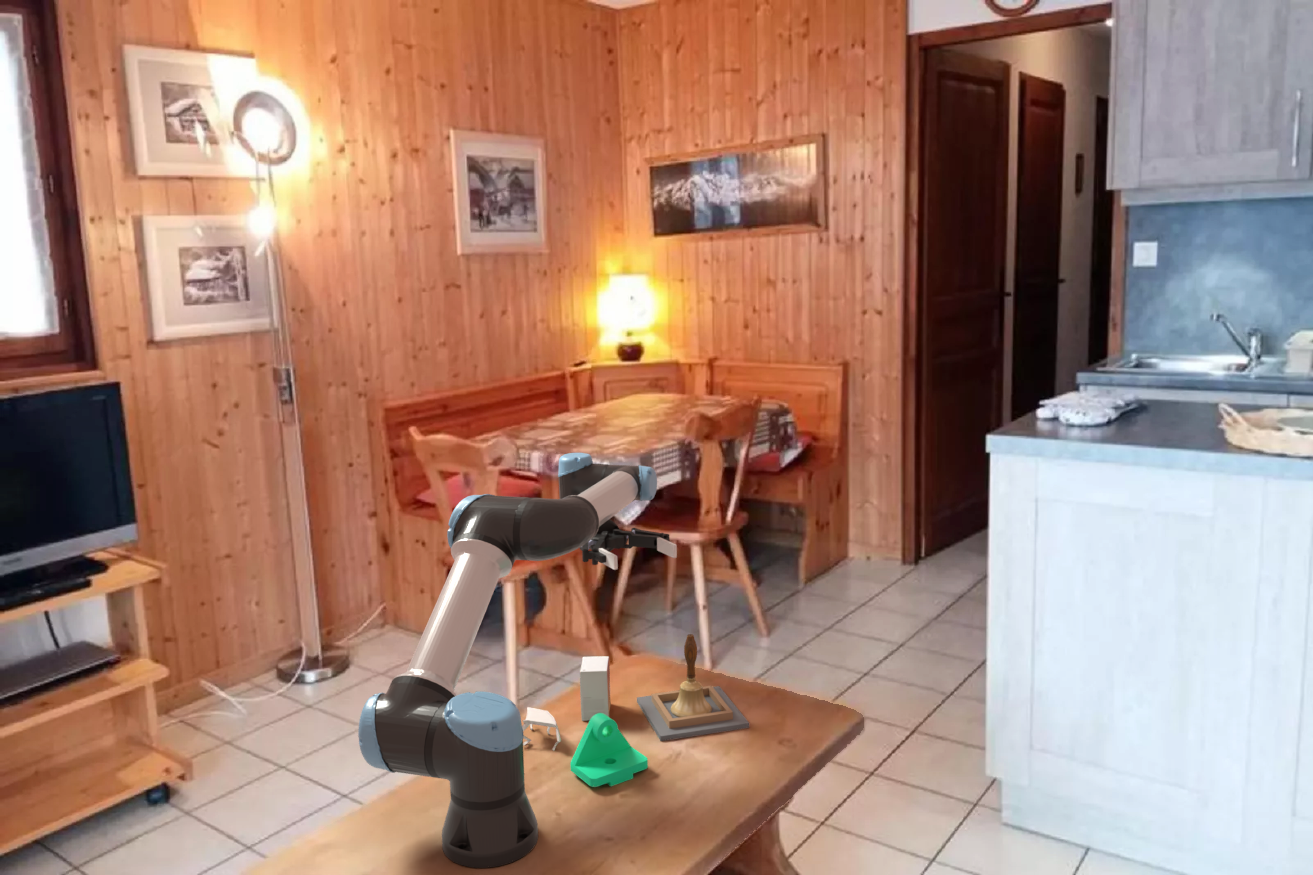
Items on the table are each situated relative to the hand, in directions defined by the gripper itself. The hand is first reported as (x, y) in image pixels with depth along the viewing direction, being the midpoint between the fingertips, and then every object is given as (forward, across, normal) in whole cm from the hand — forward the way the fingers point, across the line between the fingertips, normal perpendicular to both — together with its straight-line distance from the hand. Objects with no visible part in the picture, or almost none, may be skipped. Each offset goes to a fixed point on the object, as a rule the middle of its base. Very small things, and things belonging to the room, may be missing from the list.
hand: (646, 557), depth 206 cm
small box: (-4, +10, -32) cm, 34 cm away
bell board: (+8, -5, -32) cm, 33 cm away
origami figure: (+2, +25, -32) cm, 41 cm away
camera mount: (+19, +19, -32) cm, 42 cm away
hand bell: (+8, -5, -31) cm, 32 cm away
